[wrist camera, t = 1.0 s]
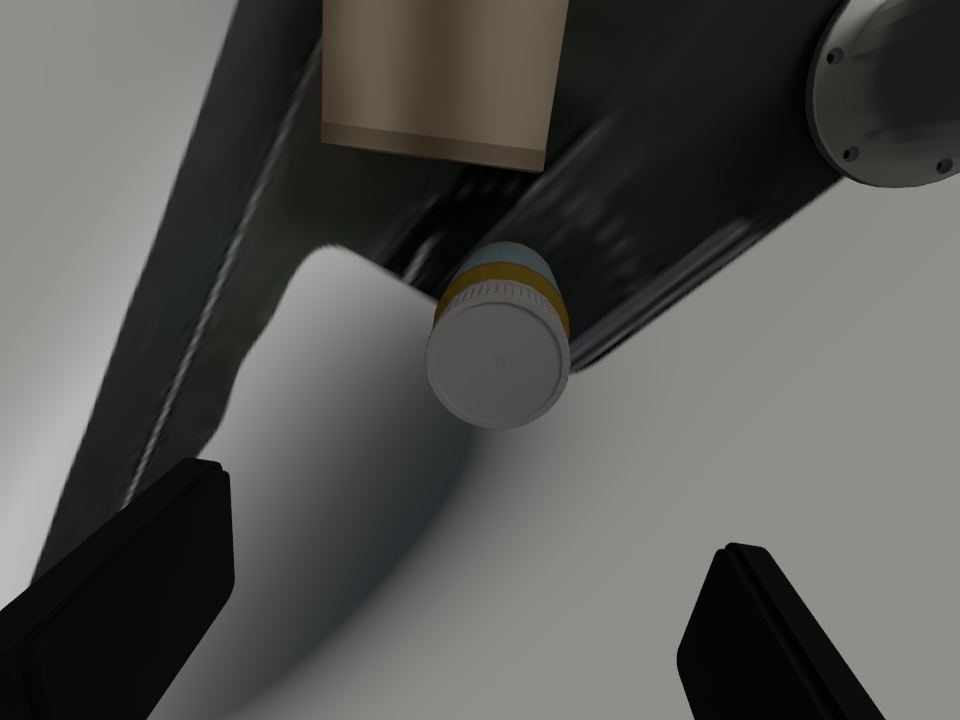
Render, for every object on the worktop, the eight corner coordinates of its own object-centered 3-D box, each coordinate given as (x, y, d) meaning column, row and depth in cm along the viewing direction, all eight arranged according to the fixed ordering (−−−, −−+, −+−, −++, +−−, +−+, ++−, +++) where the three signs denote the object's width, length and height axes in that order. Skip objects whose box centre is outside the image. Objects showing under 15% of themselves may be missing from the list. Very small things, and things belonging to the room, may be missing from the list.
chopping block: (573, -55, 27) (588, -118, 22) (538, 173, 31) (542, 171, 26) (362, -81, 27) (322, -148, 22) (355, 149, 32) (321, 142, 26)
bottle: (524, 353, 36) (529, 463, 22) (439, 309, 35) (388, 394, 21) (573, 270, 33) (614, 333, 19) (484, 221, 33) (459, 250, 19)
